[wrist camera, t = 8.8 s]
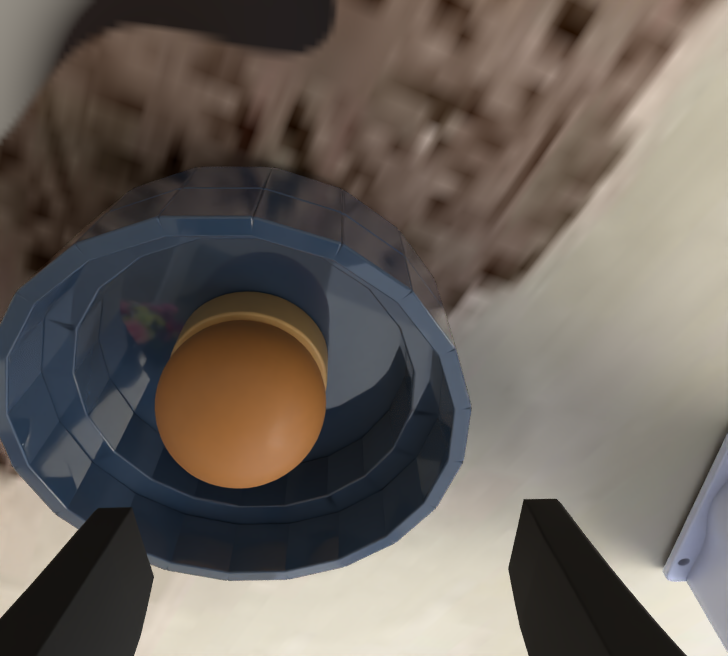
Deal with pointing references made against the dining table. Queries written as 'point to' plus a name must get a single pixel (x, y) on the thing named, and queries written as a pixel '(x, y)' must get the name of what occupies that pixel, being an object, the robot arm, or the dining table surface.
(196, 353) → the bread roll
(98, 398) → the bowl
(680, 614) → the dining table surface
